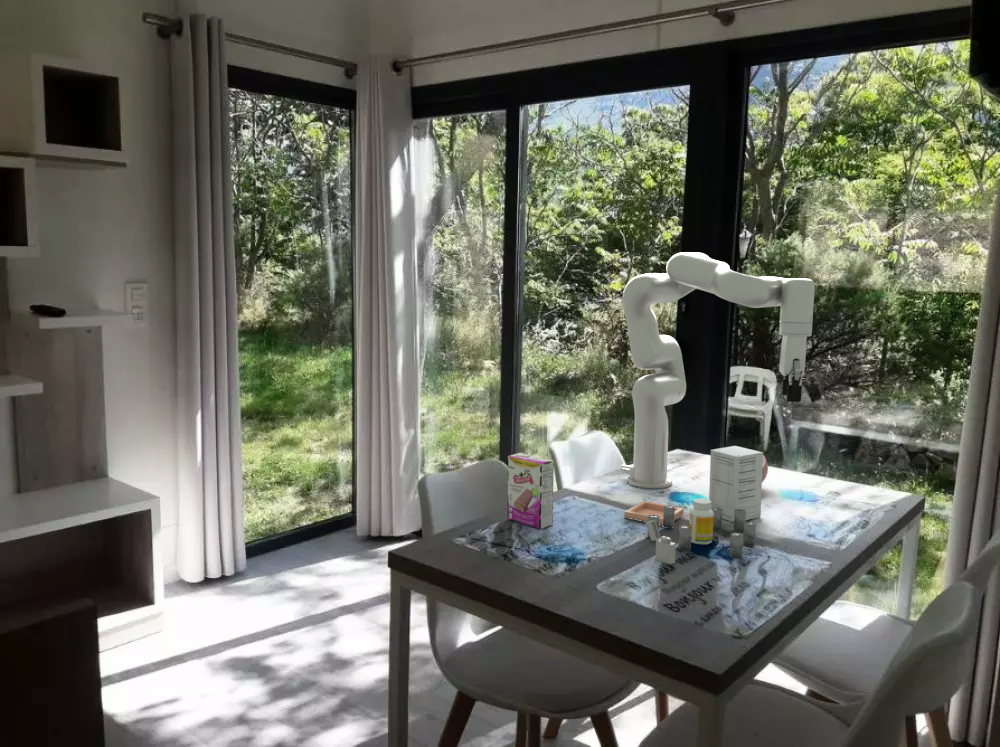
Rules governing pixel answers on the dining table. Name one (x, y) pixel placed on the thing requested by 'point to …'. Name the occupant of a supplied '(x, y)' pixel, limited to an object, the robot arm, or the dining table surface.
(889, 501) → the dining table surface
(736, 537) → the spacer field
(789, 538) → the dining table surface
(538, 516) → the candy bar box
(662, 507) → the dish
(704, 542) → the supplement bottle
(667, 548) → the lighter
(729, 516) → the supplement box
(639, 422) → the robot arm
